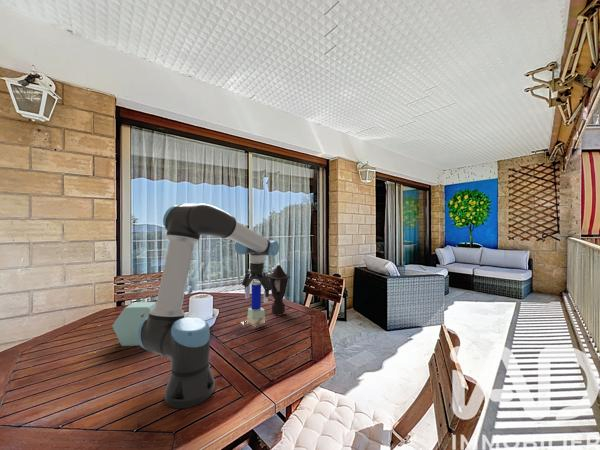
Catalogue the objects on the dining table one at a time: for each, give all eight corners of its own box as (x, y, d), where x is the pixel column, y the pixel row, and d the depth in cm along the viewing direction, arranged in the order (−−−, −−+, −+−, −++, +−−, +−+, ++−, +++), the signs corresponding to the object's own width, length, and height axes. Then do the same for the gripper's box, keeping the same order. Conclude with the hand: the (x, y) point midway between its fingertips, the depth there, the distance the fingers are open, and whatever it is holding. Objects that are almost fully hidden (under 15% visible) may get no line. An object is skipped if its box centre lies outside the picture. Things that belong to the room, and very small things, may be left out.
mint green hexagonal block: (146, 347, 124) (171, 311, 125) (138, 355, 116) (164, 317, 117) (115, 328, 122) (140, 292, 123) (104, 336, 114) (132, 297, 115)
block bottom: (254, 327, 137) (254, 319, 137) (247, 323, 142) (247, 316, 142) (264, 323, 142) (265, 316, 142) (257, 319, 147) (257, 313, 147)
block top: (252, 319, 137) (252, 312, 137) (247, 315, 143) (247, 308, 143) (264, 317, 141) (264, 309, 141) (259, 313, 147) (259, 306, 147)
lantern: (289, 318, 152) (290, 267, 151) (264, 317, 152) (265, 267, 151) (290, 309, 166) (291, 263, 166) (267, 309, 167) (268, 263, 166)
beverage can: (262, 308, 143) (263, 281, 142) (256, 311, 138) (256, 283, 138) (255, 306, 145) (256, 280, 145) (249, 309, 141) (249, 282, 141)
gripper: (278, 263, 138) (278, 302, 138) (245, 259, 151) (244, 295, 152) (270, 265, 132) (269, 306, 132) (235, 260, 145) (235, 298, 145)
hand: (256, 300), depth 142 cm, fingers open, 13 cm apart
